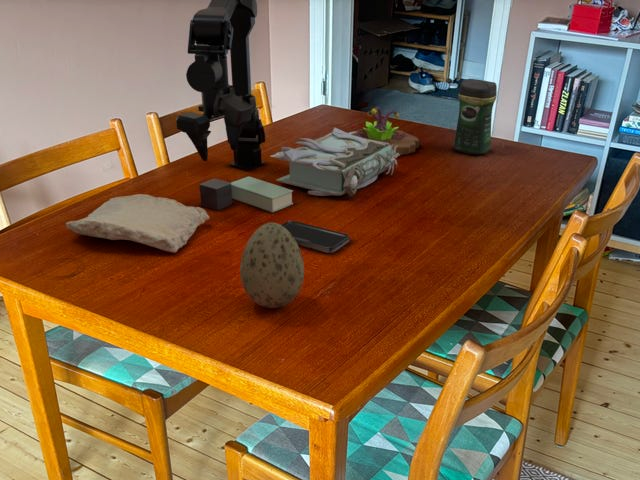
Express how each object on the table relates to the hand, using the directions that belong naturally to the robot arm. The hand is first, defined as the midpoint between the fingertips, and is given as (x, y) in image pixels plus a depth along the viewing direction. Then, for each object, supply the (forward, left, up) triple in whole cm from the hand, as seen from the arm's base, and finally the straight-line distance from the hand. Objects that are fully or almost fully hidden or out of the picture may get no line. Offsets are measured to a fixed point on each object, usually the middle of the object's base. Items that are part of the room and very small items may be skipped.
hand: (219, 155), depth 161 cm
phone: (+27, -4, -11) cm, 30 cm away
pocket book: (+5, +7, -11) cm, 14 cm away
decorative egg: (+38, -30, -11) cm, 50 cm away
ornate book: (+11, +30, -11) cm, 34 cm away
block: (-1, -1, -11) cm, 11 cm away
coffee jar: (+28, +70, -11) cm, 76 cm away
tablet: (-3, -23, -11) cm, 26 cm away
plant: (+6, +57, -11) cm, 58 cm away
